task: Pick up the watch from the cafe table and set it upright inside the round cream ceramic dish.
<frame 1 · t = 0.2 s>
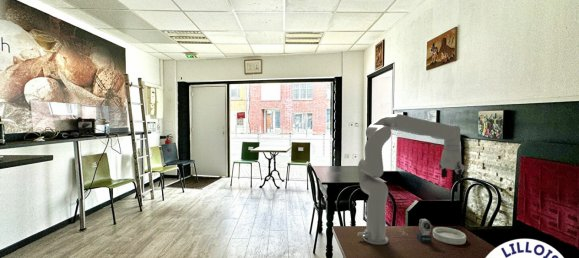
hand: (450, 179, 151), 31 cm above the table, tool pointing down, fingers open, 9 cm apart
watch: (424, 240, 144), on the table
dish: (448, 238, 147), on the table
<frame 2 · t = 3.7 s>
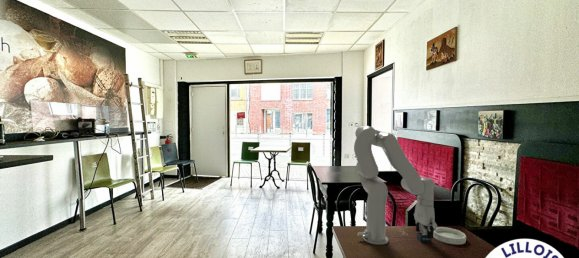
hand: (424, 234, 144), 3 cm above the table, tool pointing down, fingers closed on watch, 8 cm apart
watch: (424, 240, 144), on the table, touching gripper
when the fingers open (6 cm above the table, at t = 10.2 s): watch drops 2 cm, resting on dish.
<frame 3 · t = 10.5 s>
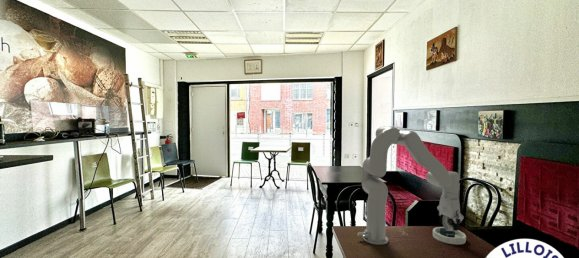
hand: (449, 226, 147), 6 cm above the table, tool pointing down, fingers open, 9 cm apart
watch: (447, 235, 148), point 1 cm above the table, touching dish
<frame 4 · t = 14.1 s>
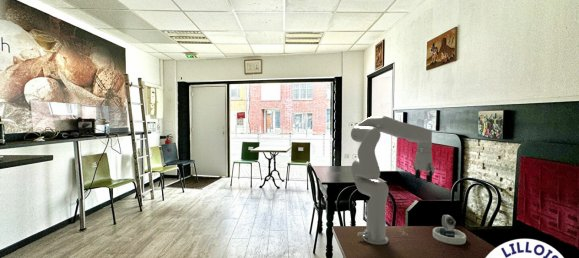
hand: (423, 179, 160), 28 cm above the table, tool pointing down, fingers open, 9 cm apart
nothing on the table moved.
at the end: watch inside the target area on the dish (0.9 cm from its centre), point 0.8 cm above the dish's base; watch tilted 0°; the gripper is holding nothing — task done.
